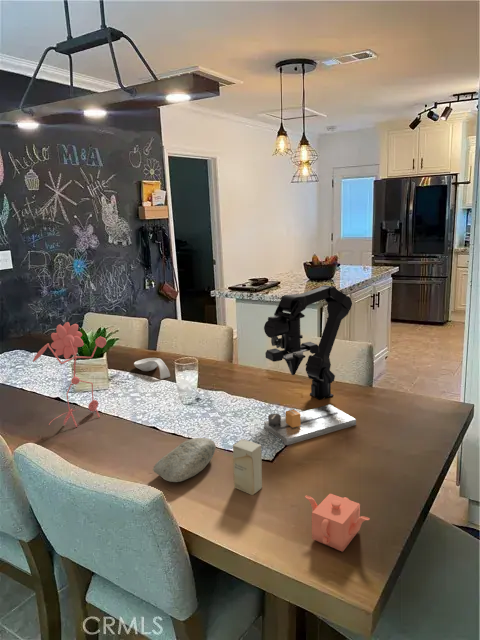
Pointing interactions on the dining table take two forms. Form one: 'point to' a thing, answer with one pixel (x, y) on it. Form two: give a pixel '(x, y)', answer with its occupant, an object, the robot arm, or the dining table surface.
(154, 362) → the spoon rest
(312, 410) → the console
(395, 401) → the dining table surface
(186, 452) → the rock
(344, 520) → the teapot
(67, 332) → the figurine
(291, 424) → the fader
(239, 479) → the skincare box
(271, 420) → the dial
